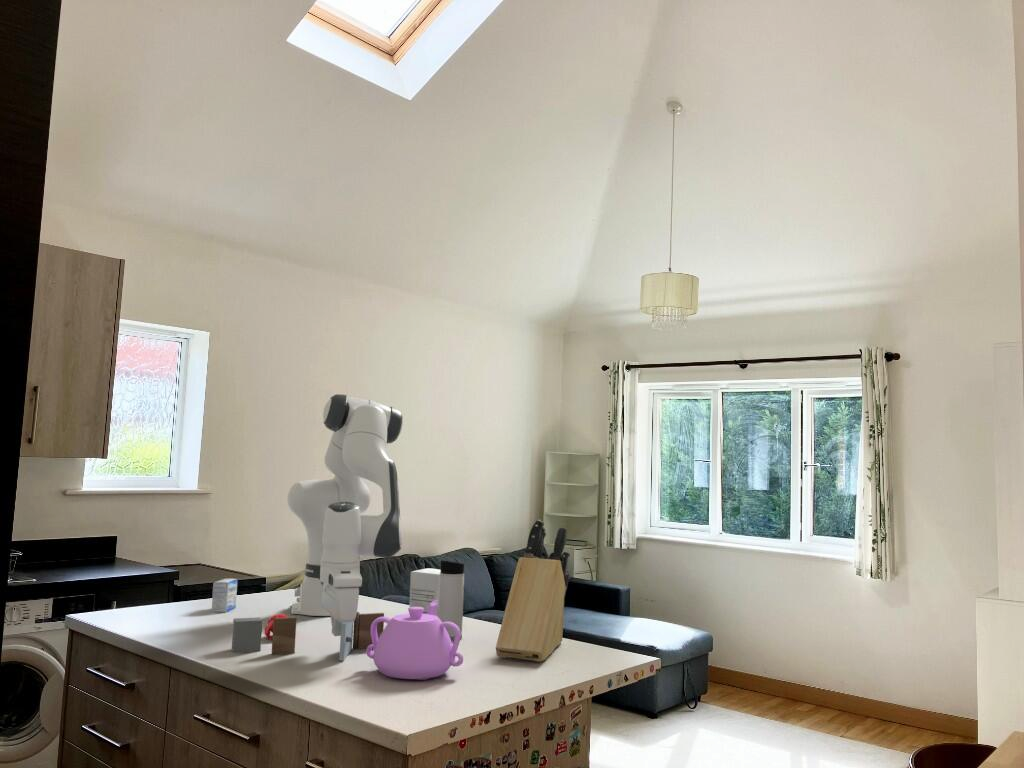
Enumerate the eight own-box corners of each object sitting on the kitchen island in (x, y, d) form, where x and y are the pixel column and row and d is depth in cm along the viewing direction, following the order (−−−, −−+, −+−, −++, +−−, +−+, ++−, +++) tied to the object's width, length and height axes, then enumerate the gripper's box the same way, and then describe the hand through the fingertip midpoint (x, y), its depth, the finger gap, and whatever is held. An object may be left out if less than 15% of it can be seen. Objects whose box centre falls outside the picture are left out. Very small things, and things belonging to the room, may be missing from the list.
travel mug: (431, 638, 206) (434, 559, 208) (450, 635, 211) (453, 557, 213) (447, 642, 202) (451, 562, 204) (466, 639, 206) (469, 560, 208)
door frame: (271, 653, 184) (273, 615, 185) (381, 646, 195) (382, 610, 196) (272, 654, 183) (274, 616, 184) (382, 647, 194) (384, 611, 195)
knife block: (571, 636, 214) (574, 519, 218) (541, 666, 181) (545, 527, 184) (530, 632, 217) (533, 517, 220) (493, 661, 184) (498, 525, 187)
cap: (295, 627, 198) (297, 611, 203) (272, 620, 196) (275, 604, 201) (282, 650, 201) (285, 633, 206) (259, 643, 199) (262, 626, 204)
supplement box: (424, 620, 229) (426, 567, 230) (451, 624, 225) (453, 570, 226) (407, 626, 221) (409, 570, 222) (435, 629, 217) (437, 573, 218)
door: (348, 647, 192) (350, 613, 192) (357, 647, 192) (359, 613, 193) (339, 660, 179) (341, 623, 180) (349, 660, 179) (351, 623, 180)
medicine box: (226, 613, 231) (228, 582, 232) (210, 612, 231) (213, 581, 232) (236, 608, 239) (238, 578, 240) (221, 607, 239) (223, 578, 240)
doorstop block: (231, 649, 187) (233, 618, 188) (258, 647, 190) (260, 617, 191) (233, 652, 184) (235, 621, 185) (260, 651, 186) (262, 620, 187)
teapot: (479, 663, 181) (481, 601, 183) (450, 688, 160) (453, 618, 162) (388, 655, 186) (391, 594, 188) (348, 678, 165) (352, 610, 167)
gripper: (317, 567, 192) (313, 626, 191) (335, 580, 174) (332, 646, 172) (343, 567, 195) (340, 624, 193) (364, 579, 176) (360, 644, 175)
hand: (336, 635), depth 183 cm, fingers closed
